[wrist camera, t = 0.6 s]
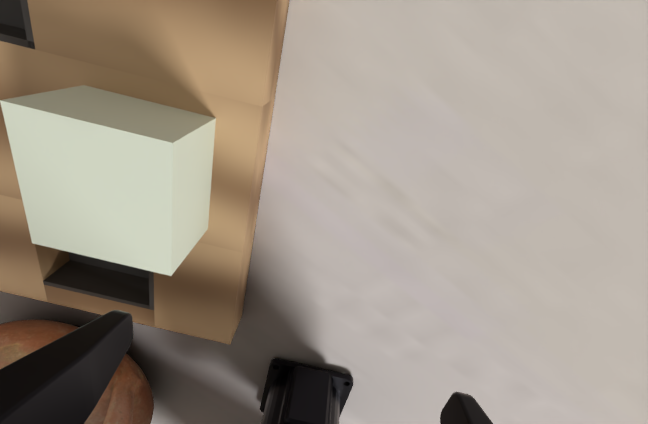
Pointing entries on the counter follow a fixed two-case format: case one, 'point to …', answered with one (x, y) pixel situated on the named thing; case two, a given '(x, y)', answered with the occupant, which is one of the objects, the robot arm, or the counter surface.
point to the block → (112, 175)
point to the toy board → (163, 88)
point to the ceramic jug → (122, 391)
